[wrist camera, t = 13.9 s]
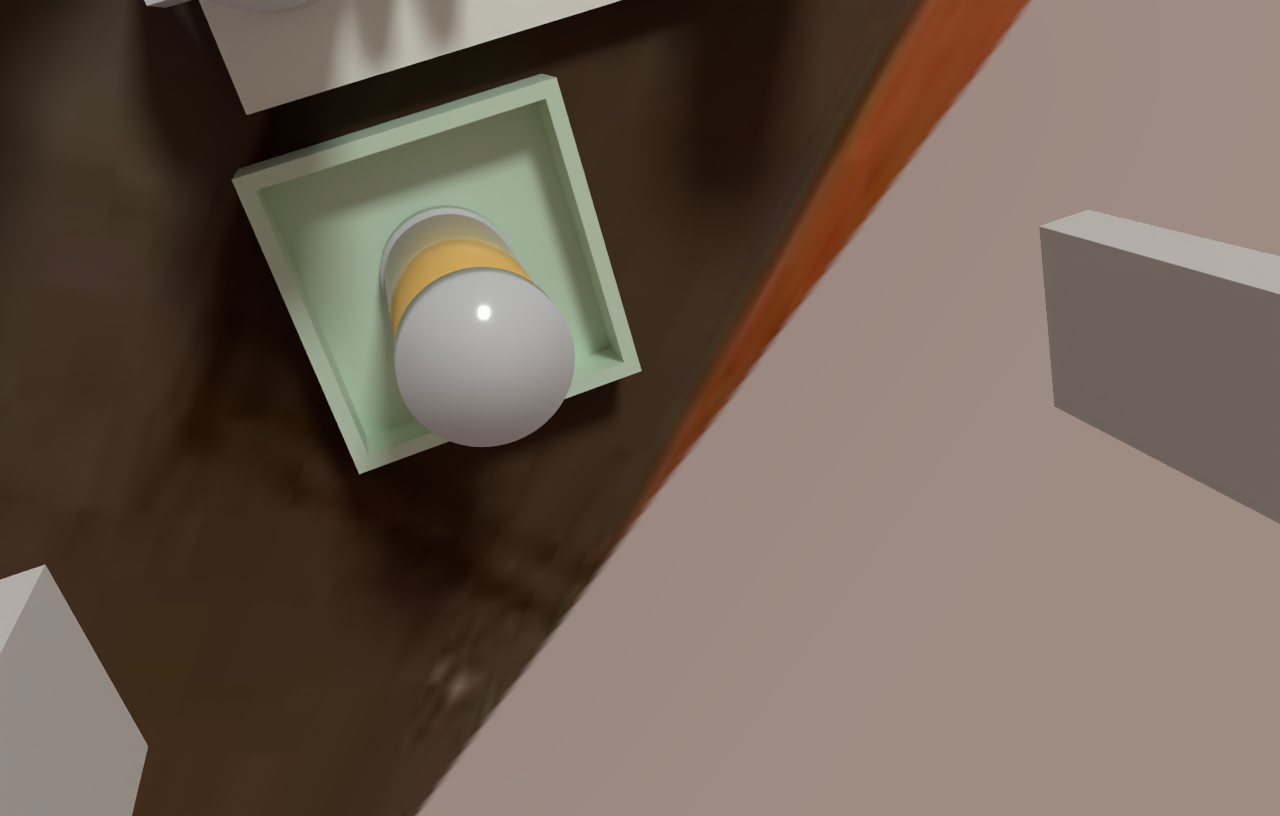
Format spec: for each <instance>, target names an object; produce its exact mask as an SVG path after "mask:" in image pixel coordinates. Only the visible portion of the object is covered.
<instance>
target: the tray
mask: <svg viewBox="0 0 1280 816" xmlns="http://www.w3.org/2000/svg"><path fill="white" fill-rule="evenodd" d="M232 182H233V184H234V186H235V189H236V191H237V193H238V196H239V198H240V200H241V203H242V205H243V207H244V209H245V212H246V214H247V216H248V219H249V221H250V223H251V226H252V228H253V230H254V233H255V235H256V237H257V239H258V242H259V244H260V246H261V249H262V251H263V253H264V256H265V258H266V260H267V262H268V265H269V267H270V269H271V272H272V274H273V276H274V279H275V281H276V283H277V286H278V288H279V290H280V292H281V295H282V297H283V299H284V302H285V304H286V306H287V309H288V311H289V313H290V316H291V318H292V320H293V322H294V325H295V327H296V329H297V332H298V334H299V336H300V339H301V341H302V343H303V346H304V348H305V350H306V352H307V355H308V357H309V359H310V362H311V364H312V366H313V369H314V371H315V373H316V376H317V378H318V380H319V382H320V385H321V387H322V389H323V392H324V394H325V396H326V399H327V401H328V403H329V406H330V408H331V410H332V412H333V415H334V417H335V419H336V422H337V424H338V426H339V429H340V431H341V433H342V436H343V438H344V440H345V442H346V445H347V447H348V449H349V452H350V454H351V456H352V459H353V461H354V463H355V466H356V468H357V470H358V472H359V474H361V473H364V472H366V471H369V470H372V469H375V468H377V467H380V466H383V465H386V464H388V463H391V462H394V461H397V460H399V459H402V458H405V457H407V456H410V455H413V454H416V453H418V452H421V451H424V450H427V449H429V448H432V447H435V446H438V445H440V444H443V443H446V442H448V440H446V439H444V438H441V437H439V436H437V435H436V434H434V433H433V432H431V431H430V430H428V429H427V428H426V427H425V426H423V425H422V424H421V423H420V422H419V421H418V420H417V419H416V418H415V417H414V415H413V414H412V413H411V411H410V410H409V408H408V407H407V406H406V404H405V402H404V400H403V398H402V396H401V393H400V390H399V387H398V383H397V378H396V372H395V366H394V358H393V346H394V336H393V331H392V325H391V319H390V314H389V308H388V306H387V304H386V302H385V299H384V296H383V292H382V287H381V281H380V260H381V255H382V251H383V249H384V246H385V244H386V242H387V240H388V238H389V236H390V235H391V233H392V232H393V231H394V230H395V228H396V227H397V226H398V225H399V224H400V223H401V222H402V221H404V220H405V219H406V218H408V217H409V216H411V215H413V214H414V213H416V212H418V211H421V210H423V209H426V208H430V207H435V206H458V207H463V208H466V209H470V210H472V211H474V212H477V213H479V214H480V215H482V216H484V217H485V218H487V219H488V220H489V221H490V222H492V223H493V224H494V225H495V226H496V227H497V228H498V230H499V231H500V232H501V233H502V235H503V236H504V237H505V239H506V240H507V242H508V243H509V245H510V247H511V249H512V251H513V253H514V256H515V258H516V259H517V260H518V262H519V263H520V265H521V266H522V267H523V269H524V270H525V271H526V273H527V274H528V276H529V277H530V278H531V280H532V281H533V282H534V284H535V285H537V286H538V287H539V288H540V289H541V290H543V291H544V292H545V293H546V294H547V296H548V297H549V298H550V299H551V301H552V302H553V303H554V305H555V306H556V307H557V309H558V310H559V311H560V313H561V314H562V316H563V318H564V319H565V321H566V323H567V325H568V327H569V330H570V332H571V335H572V339H573V343H574V351H575V367H574V373H573V378H572V382H571V385H570V388H569V390H568V393H567V395H566V397H565V399H566V398H569V397H571V396H574V395H577V394H580V393H582V392H585V391H588V390H591V389H593V388H596V387H599V386H601V385H604V384H607V383H610V382H612V381H615V380H618V379H621V378H623V377H626V376H629V375H632V374H634V373H637V372H640V371H641V367H640V364H639V360H638V357H637V354H636V350H635V347H634V343H633V340H632V336H631V333H630V329H629V326H628V323H627V319H626V316H625V312H624V309H623V305H622V302H621V298H620V295H619V292H618V288H617V285H616V281H615V278H614V274H613V271H612V267H611V264H610V261H609V257H608V254H607V250H606V247H605V243H604V240H603V237H602V233H601V230H600V226H599V223H598V219H597V216H596V212H595V209H594V206H593V202H592V199H591V195H590V192H589V188H588V185H587V181H586V178H585V175H584V171H583V168H582V164H581V161H580V157H579V154H578V150H577V147H576V144H575V140H574V137H573V133H572V130H571V126H570V123H569V119H568V116H567V113H566V109H565V106H564V102H563V99H562V95H561V92H560V89H559V85H558V82H557V78H556V77H552V76H548V75H544V74H539V75H535V76H532V77H529V78H526V79H523V80H519V81H516V82H513V83H510V84H507V85H503V86H500V87H497V88H494V89H491V90H488V91H484V92H481V93H478V94H475V95H472V96H468V97H465V98H462V99H459V100H456V101H453V102H449V103H446V104H443V105H440V106H437V107H433V108H430V109H427V110H424V111H421V112H417V113H414V114H411V115H408V116H405V117H402V118H398V119H395V120H392V121H389V122H386V123H382V124H379V125H376V126H373V127H370V128H366V129H363V130H360V131H357V132H354V133H351V134H347V135H344V136H341V137H338V138H335V139H331V140H328V141H325V142H322V143H319V144H315V145H312V146H309V147H306V148H303V149H300V150H296V151H293V152H290V153H287V154H284V155H280V156H277V157H274V158H271V159H268V160H265V161H261V162H258V163H255V164H252V165H249V166H245V167H242V168H239V169H238V170H237V172H236V173H235V175H234V177H233V178H232Z"/></svg>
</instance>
